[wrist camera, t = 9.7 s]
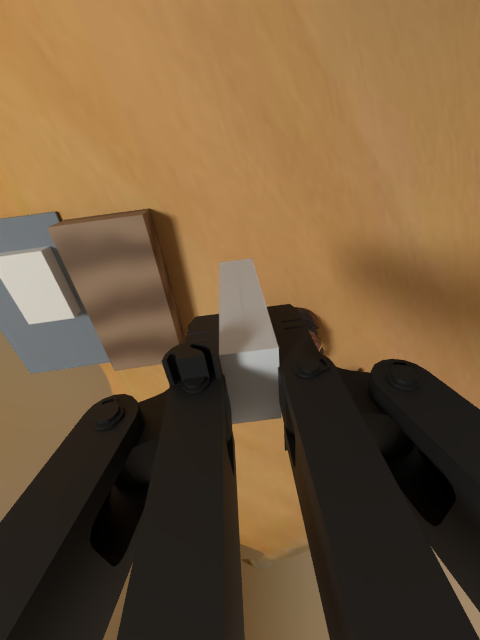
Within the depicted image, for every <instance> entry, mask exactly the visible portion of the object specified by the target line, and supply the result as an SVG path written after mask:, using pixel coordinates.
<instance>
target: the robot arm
mask: <svg viewBox="0 0 480 640" xmlns="http://www.w3.org/2000/svg"><path fill="white" fill-rule="evenodd" d="M161 362H162V364H163V367H164V370H165V373H166V376H167V379H168V381H169V384H170V388H169V389H168V390H166V391H165V392H163V393H161V394H159V395H157V396H154V397H152V398H149V399H147V400H144V401H141V402H139V403H138V402H137V401H136V400H135V399H134V398H133V397H132V396H130V395H126V394H119V395H112V396H110V397H107V398H104V399H102V400H101V401H99V402H98V403H96V404H94V405H93V406H92V407H91V408H90V409H89V410H88V411H87V412H86V413H85V414H84V415H83V416H82V418H81V419H80V420H79V422H78V423H77V424H76V425H75V427H74V428H73V429H72V431H71V432H70V433H69V434H68V436H67V437H66V438H65V440H64V441H63V442H62V443H61V445H60V446H59V448H58V449H57V450H56V451H55V453H54V454H53V455H52V456H51V458H50V459H49V460H48V462H47V463H46V464H45V466H44V467H43V468H42V469H41V471H40V472H39V473H38V474H37V476H36V477H35V478H34V480H33V481H32V482H31V484H30V485H29V486H28V487H27V489H26V490H25V491H24V493H23V494H22V495H21V496H20V498H19V499H18V500H17V502H16V503H15V504H14V506H13V507H12V508H11V509H10V511H9V512H8V513H7V514H6V516H5V517H4V518H3V520H2V521H1V522H0V640H103V637H104V635H105V632H106V630H107V627H108V625H109V622H110V619H111V617H112V614H113V612H114V609H115V606H116V604H117V601H118V599H119V596H120V594H121V591H122V589H123V586H124V583H125V581H126V578H127V576H128V573H129V571H130V568H131V565H132V563H133V565H132V570H131V574H130V579H129V584H128V589H127V593H126V599H125V603H124V608H123V613H122V618H121V623H120V627H119V631H118V636H117V640H245V636H244V616H243V598H242V578H241V559H240V540H239V520H238V501H237V482H236V463H235V443H234V437H233V432H232V424H236V423H244V422H252V421H260V420H268V419H276V418H281V412H282V417H283V421H284V438H285V450H288V453H289V458H290V462H291V467H292V471H293V476H294V480H295V485H296V489H297V494H298V498H299V503H300V507H301V512H302V516H303V521H304V525H305V530H306V534H307V539H308V543H309V548H310V552H311V557H312V561H313V566H314V570H315V575H316V579H317V583H318V588H319V592H320V597H321V602H322V606H323V611H324V615H325V619H326V624H327V629H328V633H329V638H330V640H480V639H479V637H478V636H477V633H476V632H475V630H474V628H473V626H472V624H471V623H470V620H469V618H468V616H467V615H466V613H465V611H464V609H463V607H462V605H461V603H460V601H459V599H458V598H457V596H456V594H455V592H454V590H453V588H452V586H451V584H450V583H449V581H448V579H447V577H446V575H445V573H444V571H443V569H442V568H441V566H440V563H439V562H438V560H437V558H436V556H435V554H434V552H433V550H434V551H435V552H436V554H437V555H438V557H439V558H440V559H441V561H442V562H443V563H444V565H445V566H446V567H447V569H448V570H449V571H450V573H451V574H452V575H453V577H454V578H455V579H456V581H457V582H458V584H459V585H460V586H461V588H462V589H463V590H464V592H465V593H466V594H467V596H468V597H469V598H470V599H471V601H472V602H473V604H474V605H475V606H476V608H477V609H478V610H479V612H480V409H478V408H477V407H475V406H474V405H473V404H471V403H470V402H469V401H467V400H466V399H465V398H463V397H462V396H461V395H459V394H458V393H457V392H455V391H454V390H453V389H451V388H450V387H449V386H447V385H446V384H445V383H443V382H442V381H440V380H439V379H438V378H436V377H435V376H434V375H432V374H431V373H430V372H428V371H427V370H425V369H424V368H422V367H420V366H418V365H417V364H414V363H411V362H408V361H405V360H398V359H388V360H382V361H380V362H378V363H376V364H375V365H374V366H373V368H372V370H371V373H368V372H359V371H351V370H345V369H341V368H338V367H336V366H335V365H334V364H333V362H332V361H331V360H330V359H329V358H327V357H326V356H324V355H322V354H320V353H319V351H318V349H317V347H316V345H315V343H314V341H313V339H312V336H311V334H310V332H309V330H308V328H307V327H306V324H305V322H304V320H303V318H302V316H301V314H300V312H299V310H298V309H296V308H295V307H293V306H292V305H290V304H286V305H278V306H270V307H266V304H265V300H264V297H263V293H262V290H261V287H260V283H259V280H258V277H257V273H256V270H255V266H254V263H253V260H252V259H244V260H236V261H228V262H220V273H219V314H214V315H206V316H198V317H195V318H194V320H193V321H192V322H191V323H190V324H189V327H188V333H187V338H186V342H184V343H181V344H179V345H177V346H175V347H173V348H171V349H170V350H169V351H168V352H167V353H166V354H165V355H164V357H163V359H162V361H161ZM431 547H432V548H433V550H432V548H431Z"/></svg>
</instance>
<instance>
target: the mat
mask: <svg viewBox="0 0 480 640" xmlns="http://www.w3.org/2000/svg"><path fill="white" fill-rule="evenodd" d="M59 222H61V221H60V218H59V216H58V214H57V212H49V213H41V214H34V215H26V216H19V217H11V218H4V219H0V253H3V252H11V251H18V250H25V249H33V248H40V247H47V246H50V248H51V250H52V252H53V254H54V256H55V258H56V260H57V262H58V264H59V266H60V268H61V270H62V272H63V274H64V276H65V279H66V281H67V283H68V285H69V287H70V289H71V291H72V293H73V295H74V297H75V299H76V301H77V303H78V305H79V307H80V310H81V311H80V313H79V314H78V315H77V316H76V317H75V318H71V319H64V320H57V321H50V322H43V323H36V324H28V322H27V321H26V319H25V317H24V316H23V314H22V312H21V311H20V309H19V308H18V306H17V304H16V303H15V301H14V300H13V298H12V296H11V295H10V293H9V292H8V290H7V288H6V287H5V285H4V283H3V282H2V280H1V279H0V330H1V331H2V333H3V335H4V336H5V337H6V339H7V340H8V342H9V343H10V344H11V346H12V348H13V349H14V350H15V352H16V353H17V355H18V356H19V358H20V359H21V360H22V362H23V363H24V365H25V366H26V367H27V369H28V371H29V372H30V373H31V374H32V373H38V372H45V371H52V370H59V369H65V368H73V367H80V366H87V365H94V364H101V363H108V362H110V360H109V358H108V356H107V354H106V352H105V350H104V347H103V345H102V343H101V341H100V339H99V337H98V335H97V333H96V330H95V328H94V326H93V324H92V322H91V320H90V318H89V316H88V314H87V311H86V309H85V307H84V305H83V303H82V301H81V299H80V297H79V294H78V292H77V290H76V288H75V286H74V284H73V282H72V280H71V278H70V275H69V273H68V271H67V269H66V267H65V265H64V263H63V261H62V258H61V256H60V254H59V252H58V250H57V248H56V246H55V244H54V241H53V239H52V237H51V235H50V233H49V231H48V229H47V227H49V226H51V225H54V224H56V223H59Z"/></svg>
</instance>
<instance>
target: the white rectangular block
mask: <svg viewBox="0 0 480 640" xmlns="http://www.w3.org/2000/svg"><path fill="white" fill-rule="evenodd" d="M0 279H1V280H2V282H3V283H4V285H5V287H6V288H7V290H8V292H9V293H10V295H11V296H12V298H13V300H14V301H15V303H16V304H17V306H18V308H19V309H20V311H21V312H22V314H23V316H24V317H25V319H26V321H27V322H28V324H36V323H43V322H50V321H57V320H64V319H71V318H75V317H76V316H77V315H78V314H79V313H80V311H81V310H80V307H79V305H78V303H77V301H76V299H75V297H74V295H73V293H72V291H71V289H70V287H69V285H68V283H67V281H66V279H65V276H64V274H63V272H62V270H61V268H60V266H59V264H58V262H57V260H56V258H55V256H54V254H53V252H52V250H51V248H50V246H47V247H40V248H33V249H25V250H18V251H11V252H3V253H0Z"/></svg>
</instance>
